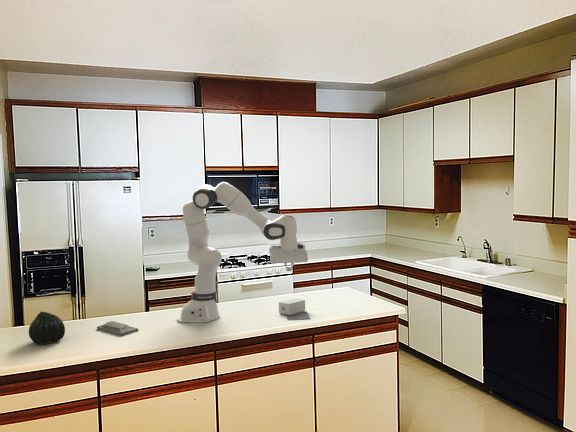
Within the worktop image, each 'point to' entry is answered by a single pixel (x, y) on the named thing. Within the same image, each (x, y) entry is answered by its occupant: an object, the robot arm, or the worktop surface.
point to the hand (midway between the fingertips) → (289, 270)
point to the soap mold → (116, 328)
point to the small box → (291, 306)
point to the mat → (298, 316)
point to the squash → (46, 328)
